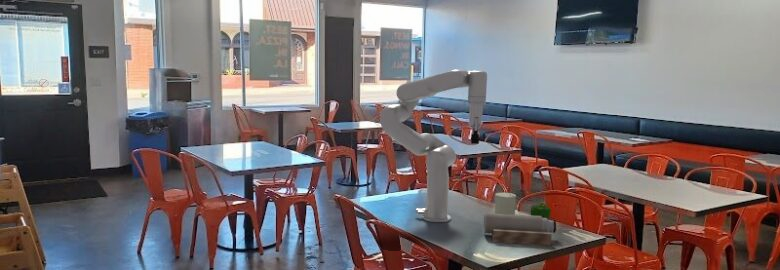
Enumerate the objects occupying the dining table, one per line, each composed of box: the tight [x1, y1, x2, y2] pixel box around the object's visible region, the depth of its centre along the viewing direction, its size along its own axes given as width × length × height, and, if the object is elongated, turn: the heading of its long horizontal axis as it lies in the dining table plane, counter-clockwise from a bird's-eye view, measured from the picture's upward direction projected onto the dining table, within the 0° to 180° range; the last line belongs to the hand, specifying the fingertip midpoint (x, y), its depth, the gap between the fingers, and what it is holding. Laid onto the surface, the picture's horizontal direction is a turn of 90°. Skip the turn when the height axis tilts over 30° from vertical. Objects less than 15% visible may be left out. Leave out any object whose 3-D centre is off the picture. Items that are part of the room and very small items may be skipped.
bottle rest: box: [490, 229, 552, 246], centre depth 237 cm, size 22×15×4 cm
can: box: [494, 192, 517, 215], centre depth 264 cm, size 9×9×12 cm
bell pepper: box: [529, 201, 551, 220], centre depth 259 cm, size 8×8×10 cm
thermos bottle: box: [483, 212, 557, 235], centre depth 238 cm, size 8×8×28 cm
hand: (474, 143), depth 252 cm, fingers closed
